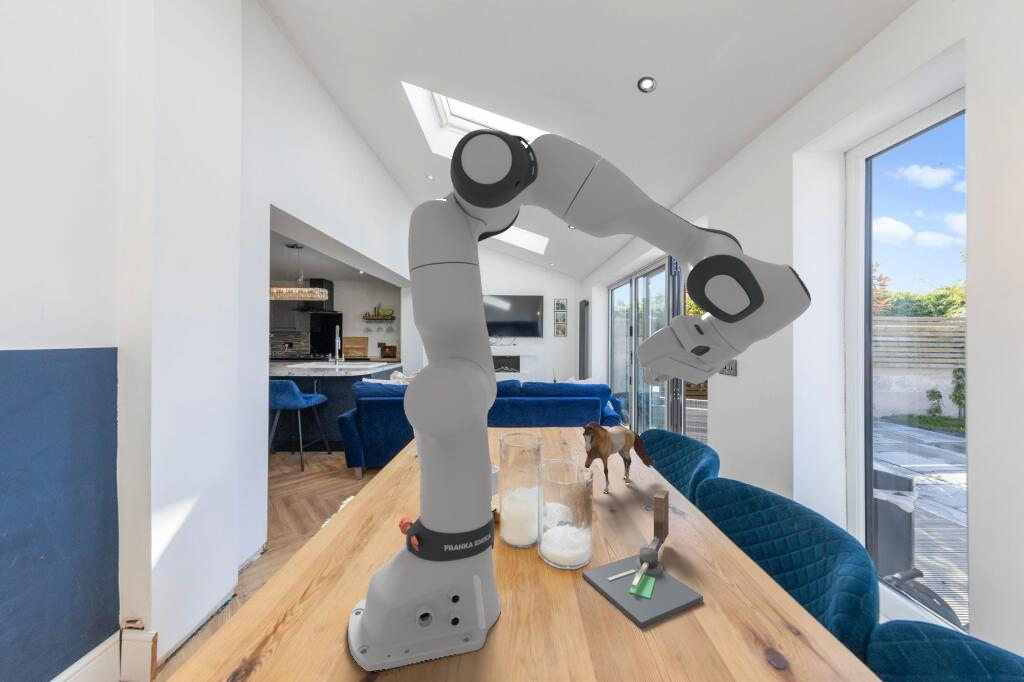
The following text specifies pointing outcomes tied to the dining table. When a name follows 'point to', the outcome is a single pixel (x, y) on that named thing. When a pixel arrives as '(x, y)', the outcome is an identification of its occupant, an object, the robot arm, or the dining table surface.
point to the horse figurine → (613, 447)
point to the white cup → (495, 480)
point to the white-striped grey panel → (642, 590)
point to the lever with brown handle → (655, 535)
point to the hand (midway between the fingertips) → (647, 381)
